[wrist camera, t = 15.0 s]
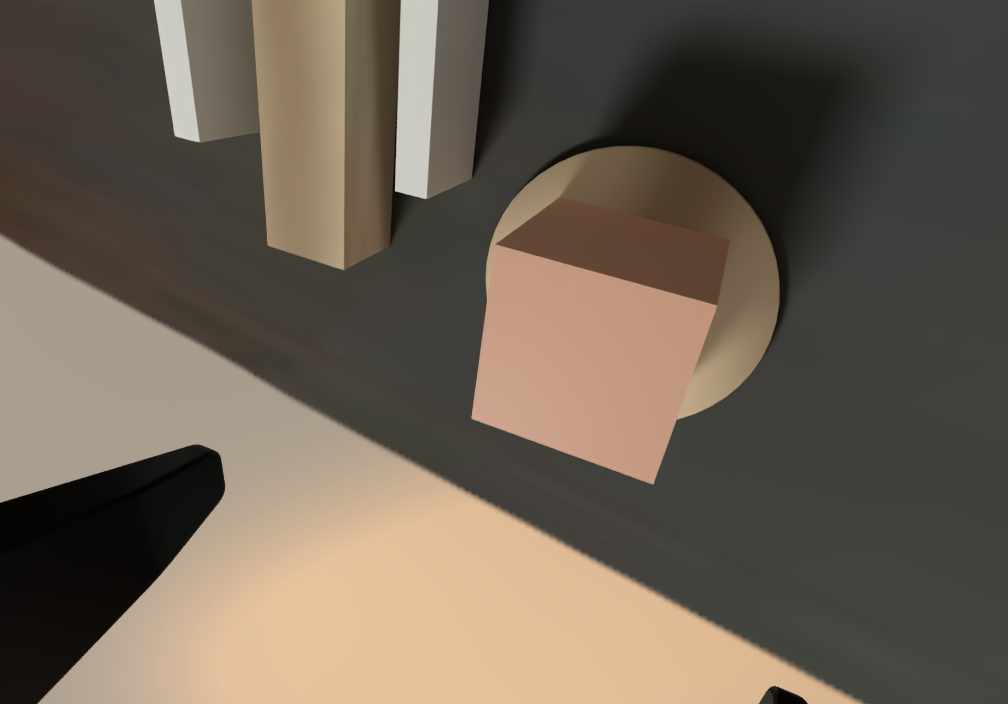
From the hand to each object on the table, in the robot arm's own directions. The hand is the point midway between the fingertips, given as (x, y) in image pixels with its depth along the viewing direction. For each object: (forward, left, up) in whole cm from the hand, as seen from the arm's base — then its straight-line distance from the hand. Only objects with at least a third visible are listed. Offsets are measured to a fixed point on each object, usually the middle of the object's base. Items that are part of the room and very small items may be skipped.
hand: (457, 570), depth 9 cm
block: (0, 0, -11) cm, 11 cm away
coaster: (0, 0, -12) cm, 12 cm away
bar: (+10, -5, -12) cm, 16 cm away
